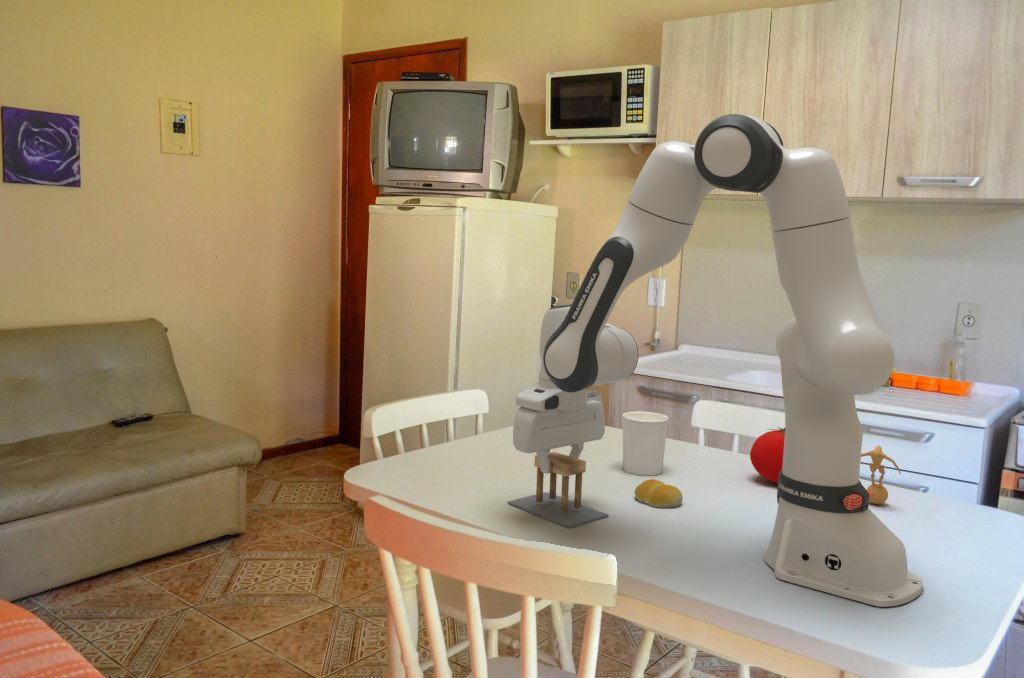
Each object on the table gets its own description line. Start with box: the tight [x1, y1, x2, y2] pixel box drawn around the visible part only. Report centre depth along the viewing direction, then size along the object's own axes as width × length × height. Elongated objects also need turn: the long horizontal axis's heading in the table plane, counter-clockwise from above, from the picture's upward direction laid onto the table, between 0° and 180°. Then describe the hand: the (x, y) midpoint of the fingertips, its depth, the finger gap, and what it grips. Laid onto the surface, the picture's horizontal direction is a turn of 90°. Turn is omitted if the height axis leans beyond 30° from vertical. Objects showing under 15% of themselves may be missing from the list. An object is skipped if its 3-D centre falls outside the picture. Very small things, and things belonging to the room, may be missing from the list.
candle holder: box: [622, 410, 670, 477], centre depth 177 cm, size 10×10×12 cm
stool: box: [534, 451, 587, 512], centre depth 148 cm, size 5×8×8 cm, turn 42°
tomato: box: [749, 426, 785, 484], centre depth 172 cm, size 12×14×11 cm
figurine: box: [861, 445, 901, 506], centre depth 158 cm, size 8×6×12 cm
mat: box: [507, 491, 610, 529], centre depth 149 cm, size 16×10×1 cm, turn 42°
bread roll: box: [634, 478, 683, 509], centre depth 156 cm, size 8×9×4 cm
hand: (559, 469), depth 148 cm, fingers closed on stool, 5 cm apart
